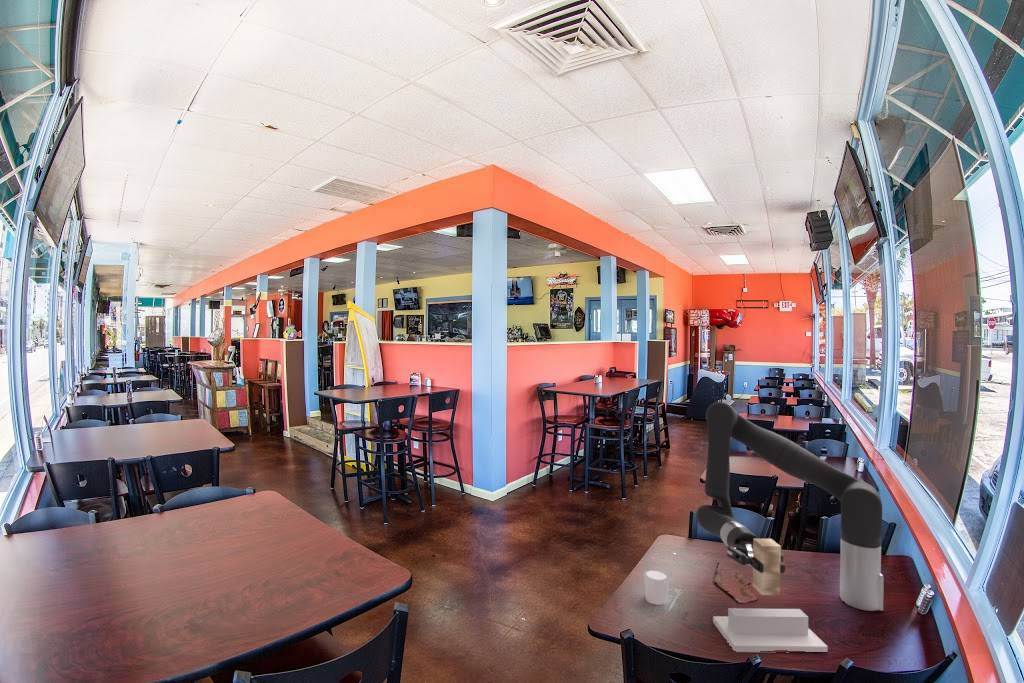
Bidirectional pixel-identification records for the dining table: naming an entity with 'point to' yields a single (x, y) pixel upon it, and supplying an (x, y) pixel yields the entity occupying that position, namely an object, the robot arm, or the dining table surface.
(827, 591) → the dining table surface
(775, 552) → the maple block
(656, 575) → the white cylinder
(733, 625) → the ridge stand
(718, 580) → the wooden fragment
